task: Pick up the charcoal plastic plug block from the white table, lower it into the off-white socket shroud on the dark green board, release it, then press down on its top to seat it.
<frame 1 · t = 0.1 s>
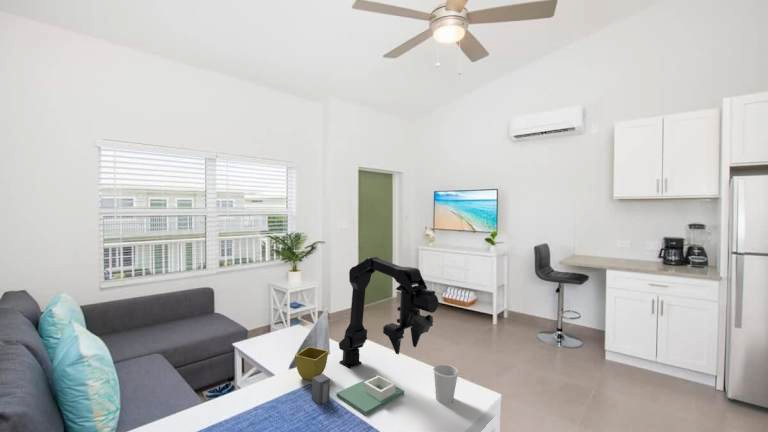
hand: (406, 350, 118), 15 cm above the table, tool pointing down, fingers open, 9 cm apart
dixie cup: (444, 399, 115), on the table
board: (370, 395, 116), on the table
flower pot: (311, 377, 126), on the table
plug: (320, 399, 112), on the table
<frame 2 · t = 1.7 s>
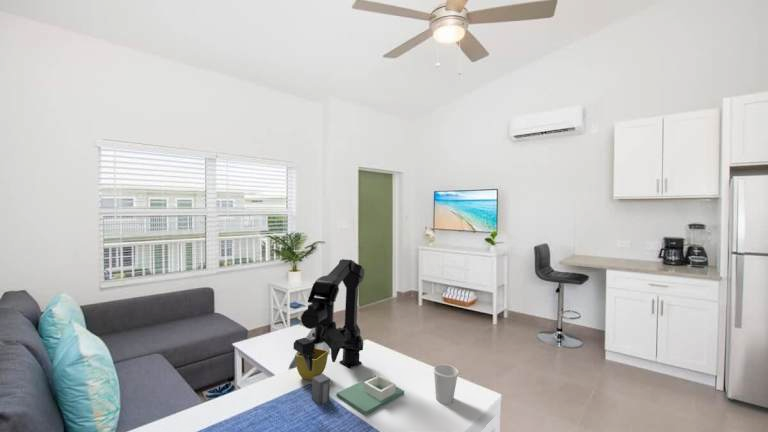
hand: (322, 366, 111), 11 cm above the table, tool pointing down, fingers open, 9 cm apart
nothing on the table moved.
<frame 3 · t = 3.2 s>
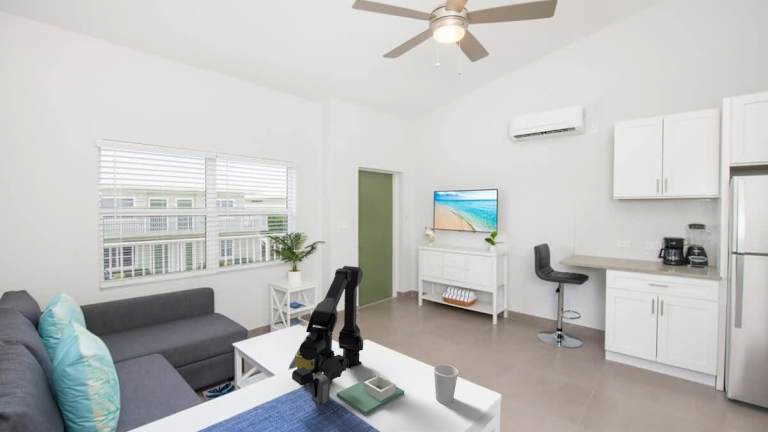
hand: (320, 394, 112), 2 cm above the table, tool pointing down, fingers closed on plug, 4 cm apart
plug: (320, 399, 112), on the table, touching gripper
everything else where it was.
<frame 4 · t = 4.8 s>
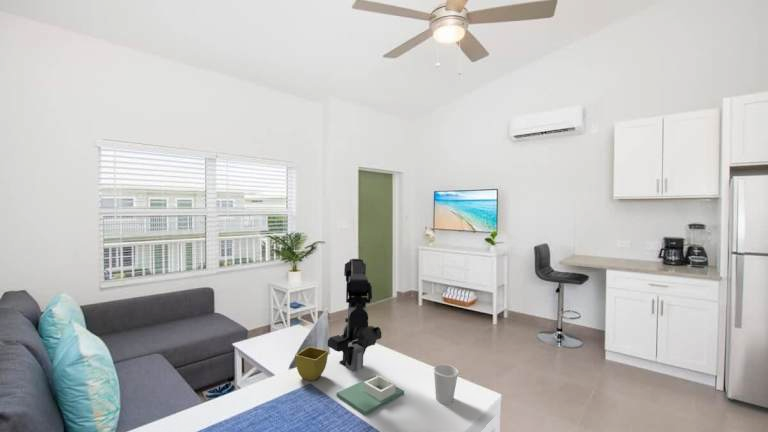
hand: (354, 363, 113), 11 cm above the table, tool pointing down, fingers closed on plug, 4 cm apart
plug: (354, 368, 113), point 10 cm above the table, touching gripper
everything else where it was.
when the fingers open (5 cm above the table, at t = 6.8 s): plug drops 2 cm, resting on board.
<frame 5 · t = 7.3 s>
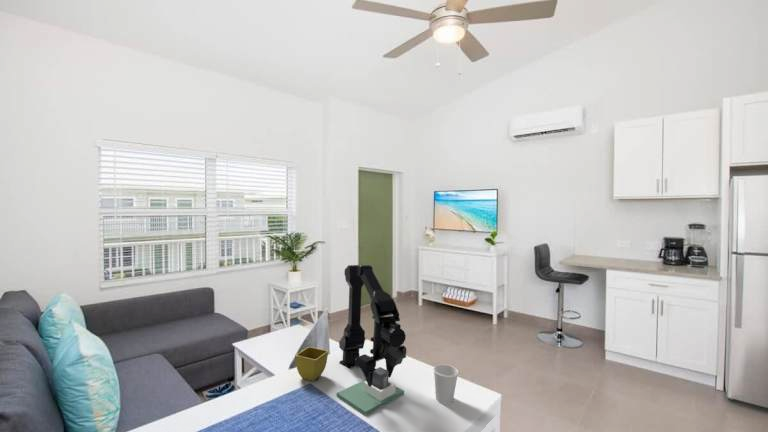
hand: (379, 381, 115), 5 cm above the table, tool pointing down, fingers open, 9 cm apart
plug: (379, 391, 116), point 1 cm above the table, touching board
everything else where it was.
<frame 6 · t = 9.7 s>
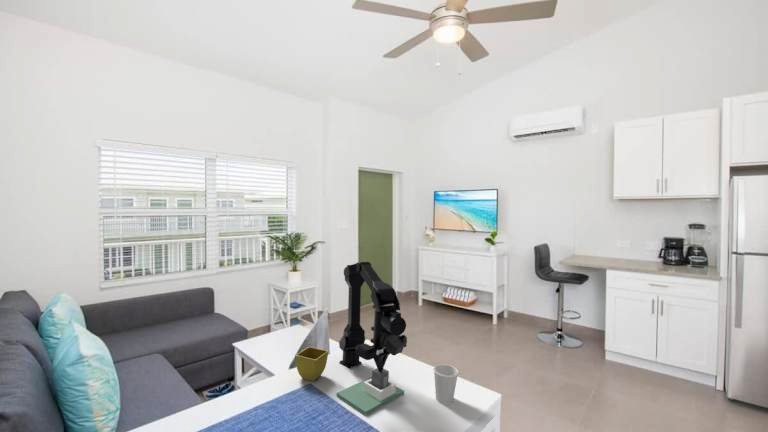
hand: (380, 370, 115), 8 cm above the table, tool pointing down, fingers closed, pressing on plug
plug: (379, 391, 116), point 1 cm above the table, touching board, gripper
everything else where it was.
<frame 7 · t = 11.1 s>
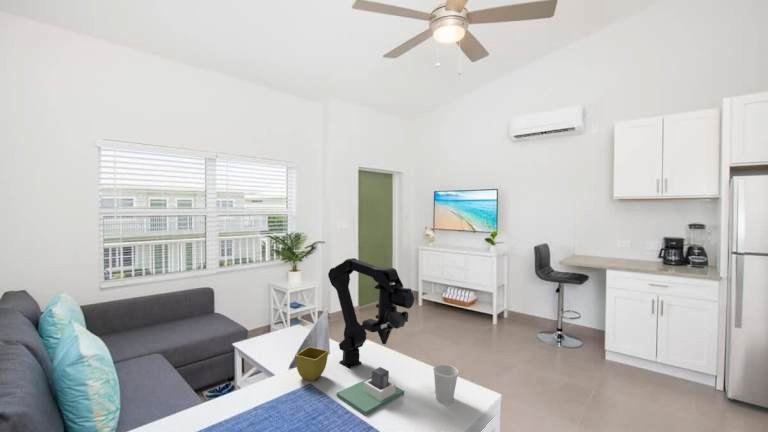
hand: (384, 344, 128), 12 cm above the table, tool pointing down, fingers closed
plug: (379, 391, 116), point 1 cm above the table, touching board
everything else where it was.
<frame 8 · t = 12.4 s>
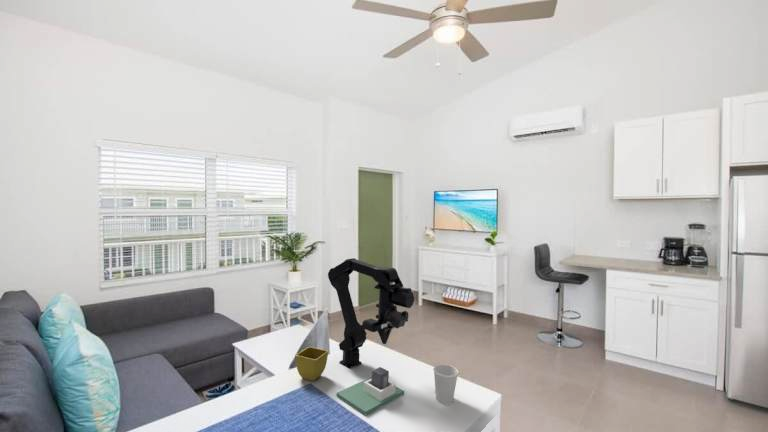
hand: (384, 343, 128), 13 cm above the table, tool pointing down, fingers closed
nothing on the table moved.
at the end: plug 0.0 cm from the target spot on the board, point 1.4 cm above the board's base; plug tilted 0°; the gripper is holding nothing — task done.
